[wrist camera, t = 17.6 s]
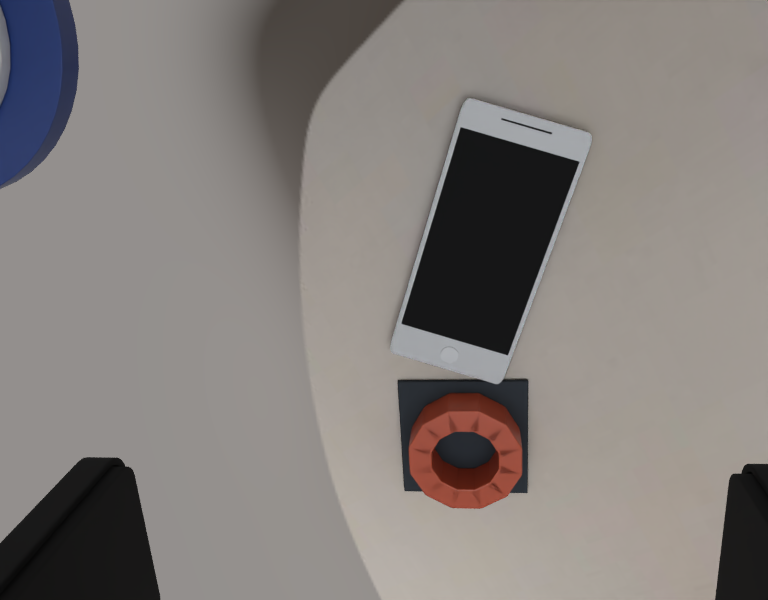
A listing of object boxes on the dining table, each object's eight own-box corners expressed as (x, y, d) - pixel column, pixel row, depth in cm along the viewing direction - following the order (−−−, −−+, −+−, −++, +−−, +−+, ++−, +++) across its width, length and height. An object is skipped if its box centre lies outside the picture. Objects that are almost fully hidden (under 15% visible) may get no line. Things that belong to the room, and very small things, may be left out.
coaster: (404, 488, 46) (404, 491, 46) (398, 380, 44) (397, 382, 43) (527, 490, 45) (527, 493, 45) (527, 379, 43) (528, 381, 42)
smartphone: (389, 346, 43) (387, 352, 42) (464, 95, 37) (464, 96, 37) (500, 379, 43) (501, 386, 42) (592, 132, 37) (595, 134, 36)
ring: (414, 485, 46) (411, 507, 44) (409, 392, 44) (406, 411, 41) (519, 487, 45) (522, 509, 43) (519, 392, 43) (522, 411, 40)
